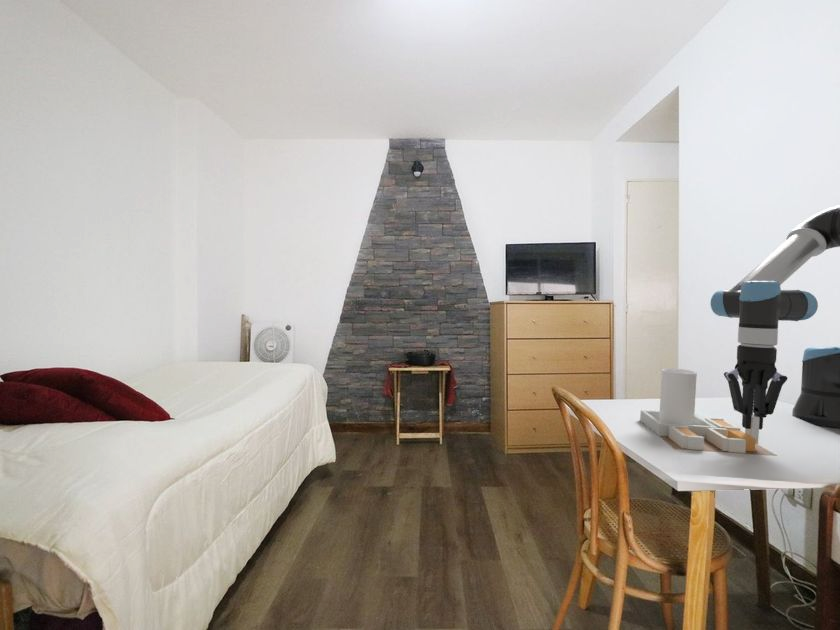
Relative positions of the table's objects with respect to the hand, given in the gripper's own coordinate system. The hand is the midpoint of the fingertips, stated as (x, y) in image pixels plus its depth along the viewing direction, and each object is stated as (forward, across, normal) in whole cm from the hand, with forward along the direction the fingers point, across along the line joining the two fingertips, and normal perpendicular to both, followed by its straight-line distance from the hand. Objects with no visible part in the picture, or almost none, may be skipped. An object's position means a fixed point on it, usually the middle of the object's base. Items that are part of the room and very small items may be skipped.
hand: (751, 441), depth 106 cm
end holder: (+1, +12, -12) cm, 17 cm away
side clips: (+1, +8, -5) cm, 10 cm away
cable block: (+1, +2, 0) cm, 3 cm away
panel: (+3, +8, -7) cm, 11 cm away
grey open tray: (+1, +5, 0) cm, 5 cm away
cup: (+2, +12, -12) cm, 17 cm away
